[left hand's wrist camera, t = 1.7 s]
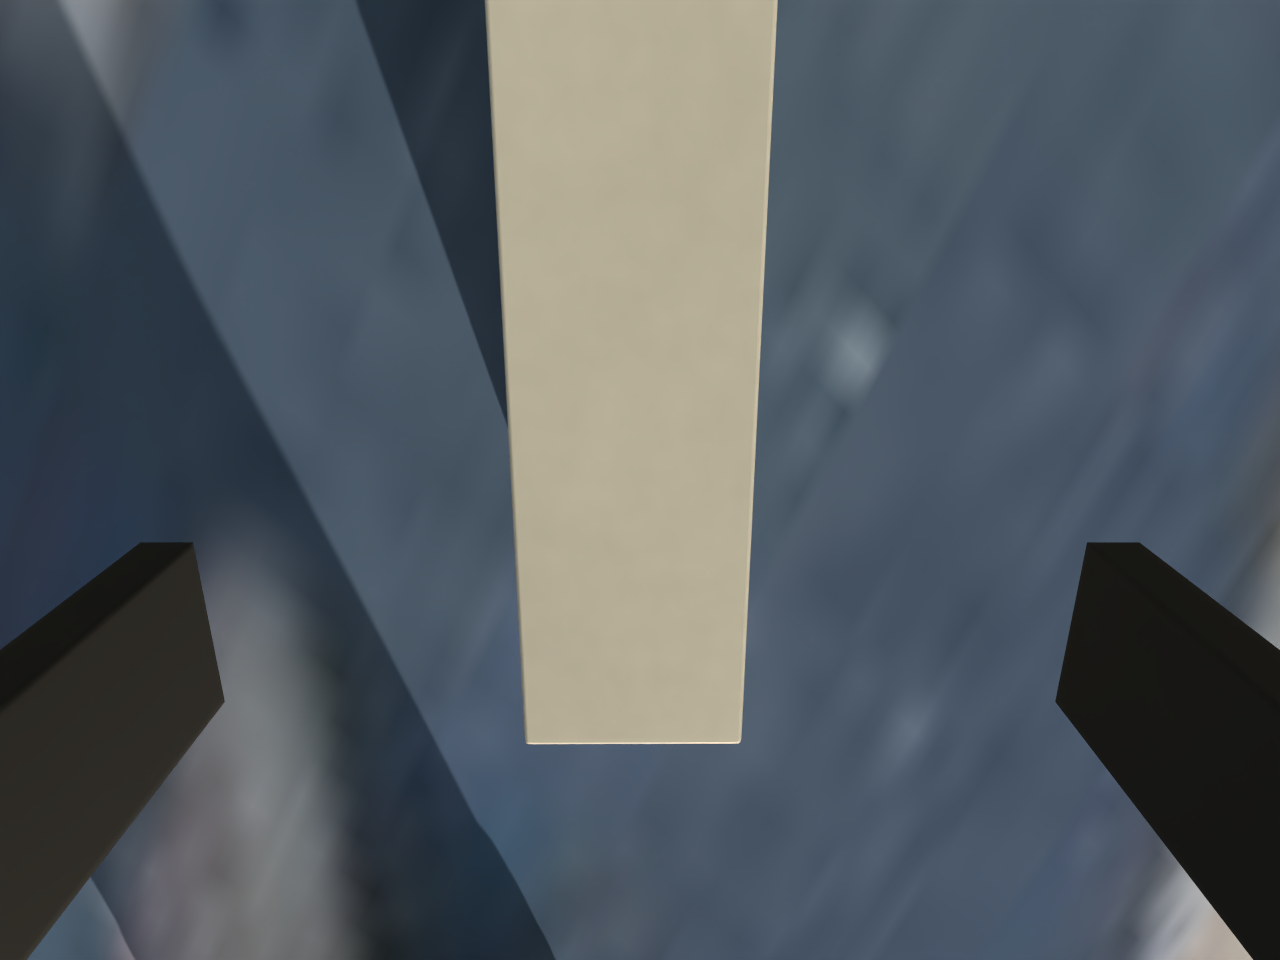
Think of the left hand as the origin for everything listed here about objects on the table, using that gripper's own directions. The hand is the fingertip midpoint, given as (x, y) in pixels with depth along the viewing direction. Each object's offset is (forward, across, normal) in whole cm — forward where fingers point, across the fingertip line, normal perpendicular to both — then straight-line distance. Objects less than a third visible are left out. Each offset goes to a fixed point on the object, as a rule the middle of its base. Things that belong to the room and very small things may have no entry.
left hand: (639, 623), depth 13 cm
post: (+13, 0, -27) cm, 30 cm away
